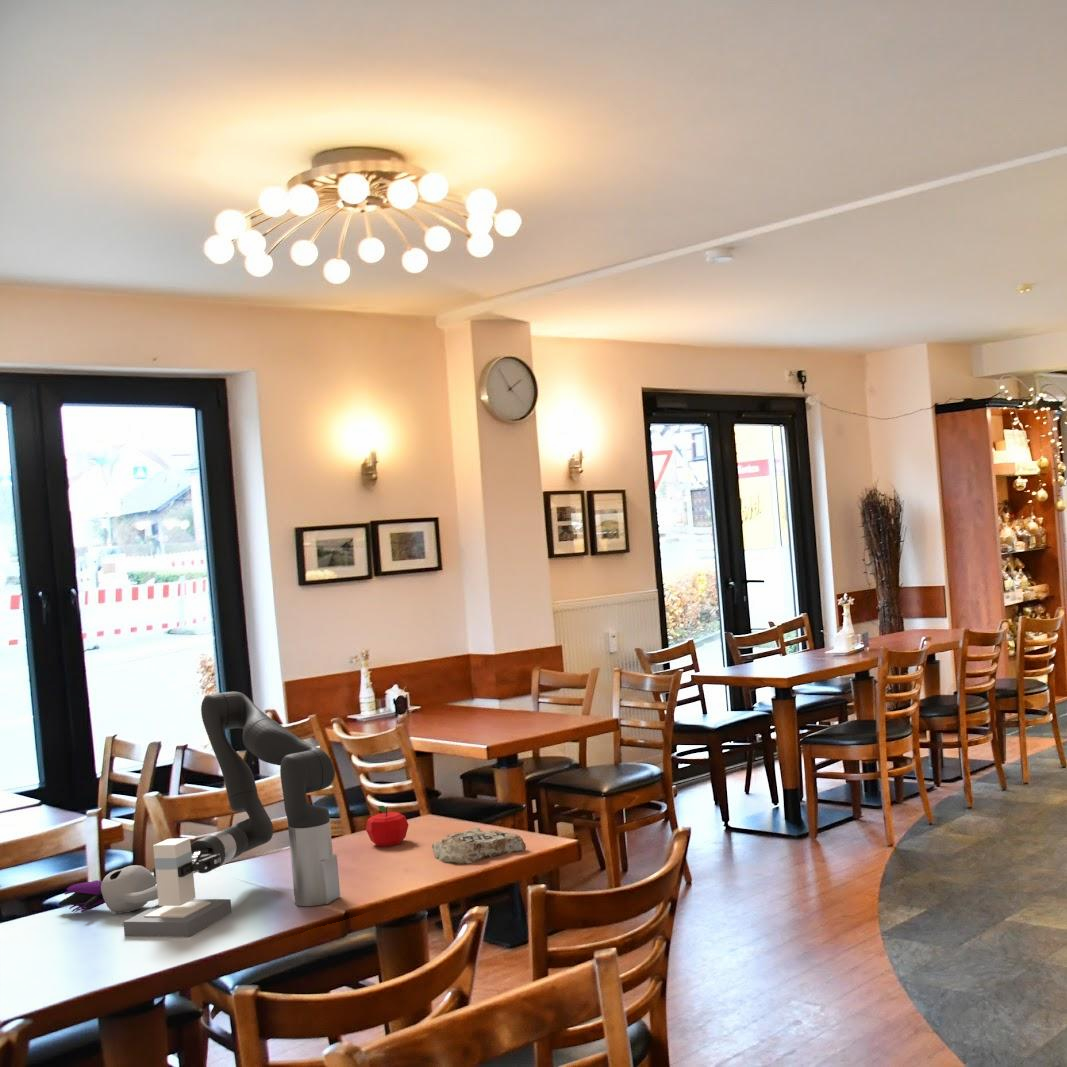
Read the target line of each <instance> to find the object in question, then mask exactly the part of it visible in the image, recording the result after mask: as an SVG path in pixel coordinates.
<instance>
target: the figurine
mask: <svg viewBox="0 0 1067 1067" xmlns="http://www.w3.org/2000/svg"><path fill="white" fill-rule="evenodd" d="M69 894H71V895H69ZM64 895H65V896H66V895H69V896H68V897H66V898H64V899H62V900H61V901H59V902H58V905H59V906H60V907H64V906H70V907H69V908H68V909H69V910H71V909H72V908H73V909H72V910H71V912H73V913H77V912H79V911H80V912H81V913H82V912H87V911H91V910H92V909H96V908H97V907H99V906H102V905H104V904H105V905H106V906H107V908H108V909H109V911H111V912H113V913H118V914H119V913H120V914H124V913H125V914H126V913H129V912H133V911H136V910H139V909H140V908H143V907H144V906H146V905H147V904H148V903H149V902H153V901H155V900H158V892H157V882H156V877H154V874H152V873H151V871H150V870H149V869H147V868H146V867H144V866H143V865H137V864H135V865H133V864H132V865H128V866H125V867H123V868H120V869H115V870H112V871H110V872H109V873H108V874H106V875H105V876H104V878H103V880H98V879H96V880H92V881H85V882H80V883H74V884H71V885H70V886H68V887H67V889H66V891H65V892H64Z"/></svg>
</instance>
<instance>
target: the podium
mask: <svg viewBox="0 0 1067 1067" xmlns="http://www.w3.org/2000/svg"><path fill="white" fill-rule="evenodd" d="M230 914H232V899H230V898H228V899H227V898H222V899H221V898H216V899H215V898H214V899H213V898H194V899H193V900H191V901H189V902H187V903H185V904H183V905H181V906H159V903H158V904H156V905H155V906H152V907H149V908H148V909H146V910H143V911H142V912H140V913H138V914H136V915H134V916H132V917H129V918H128V919H126V920H124V921H123V922H122V923H123V932H124V933H123V935H124V936H125V937H163V938H164V937H165V938H166V937H167V938H169V937H171V938H178V937H179V938H181V937H184V938H190V937H191V936H193V935H195V934H197V933H198V932H200V931H202V930H204V929H205V928H208V927H209V926H211V925H213V924H214V923H216V922H218V921H220V920H222V919H223V918H225V917H227V916H229V915H230Z"/></svg>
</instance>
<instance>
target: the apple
mask: <svg viewBox="0 0 1067 1067" xmlns="http://www.w3.org/2000/svg"><path fill="white" fill-rule="evenodd" d="M388 808H389V806H384V805H378V806H377V809H379V811H380V812H381V813H377V814H375V815H372V816H370V817H369V818H368V819H367V820H366V821H367V822H366V826H365V831H366V833H367V835H368V837H369V840H370V841H371V842H372V843H373V844H375V846H377V847H378V848H379V847H380V848H383V847H385V848H386V847H387V848H388V847H393V846H398V845H399V844H400V843H402V842H403V840H405V838H406V837H407V833H408V829H409V823H408V820H407V818H406V815H404V814H401V813H399V812H397V811H388Z"/></svg>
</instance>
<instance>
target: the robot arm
mask: <svg viewBox="0 0 1067 1067" xmlns="http://www.w3.org/2000/svg"><path fill="white" fill-rule="evenodd" d="M200 712H201V713H200V714H201V719H202V723H203V726H204V729H205V732H206V734H207V737H208V740H209V742H210V745H211V748H212V750H213V753H214V755H215V758H216V760H217V763H218V765H219V768H220V771H221V773H222V777H223V781H224V785H225V790H226V795H227V798H228V799H227V800H228V802H229V807H230V810H231V811H232V812H235V813H243V812H246V814H247V816H248V818H246V819H244V820H241V821H239V822H238V823H235V824H233V825H231V826H230V827H227V828H224V829H222V830H220V831H217V832H213V833H210V834H208V835H205V836H203V837H201V838H199V839H197V840H194V841H193V842H191V843H190V844H191V851H192V861H190V863H186V864H184V865H182V866H180V867H178V877H184V876H186V875H188V874H190V873H193V874H196V873H198V874H208V873H209V872H211V871H213V870H216V869H217V868H219V867H221V866H223V865H225V864H227V863H228V862H230V861H231V860H234V859H235V858H237V857H239V856H240V855H242V854H244V853H245V852H249V851H251V850H253V849H255V848H258V847H261V846H262V845H265V844H267V843H268V842H270V841H271V839H272V838H273V834H274V826H273V823H272V822H273V821H272V820H271V818H270V815H269V814H268V813H267V811H266V809H265V807H264V805H263V803H262V801H261V799H260V797H259V794H258V790H257V785H256V784H257V783H256V780H255V776H254V774H253V772H252V769H251V768H250V765H249V764H248V763H247V762H246V761H245V760H244V758H242V757H241V755H240V754H239V753H238V752H237V751H236V750H235V748H234V747H233V746H232V745H231V743H230V742H229V740H228V738H227V736H226V733H225V730H232V729H242V730H243V731H242V741H243V745H244V747H245V748H246V749H247V750H248V751H249V752H250V753H251V754H252V755H254V756H255V757H256V758H258V759H259V760H261V761H263V762H264V763H266V764H271V765H276V766H280V767H279V773H280V776H279V777H280V783H281V789H282V797H283V803H284V812H285V817H286V818H287V826H288V837H289V838H288V839H289V850H290V862H291V863H290V864H291V874H292V882H293V884H292V885H293V896H294V903H295V905H296V906H300V907H314V906H316V907H317V906H321V905H329V904H330V903H332V902H333V901H335V900H337V899H339V898H340V897H341V887H340V877H339V866H338V856H337V854H336V853H333V842H332V829H331V815H330V810H329V809H328V808H327V807H325V806H320V805H315V804H312V803H309V802H308V800H307V799H308V798H307V794H310V793H314V792H319V791H323V790H325V789H326V788H328V787H329V786H331V785H332V783H334V780H335V777H336V776H335V775H336V770H335V765H334V763H333V760H332V759H331V756H329V755H328V754H327V752H326V751H324V750H323V749H321V748H319V747H317V746H315V745H313V744H311V743H309V742H306V741H305V740H303V739H301V737H298V736H297V735H295V734H294V733H292V732H290V731H289V730H288V729H287V728H286V727H284V726H283V725H282V724H280V723H279V722H278V721H276V720H275V719H273V718H271V717H270V716H268V714H266V713H265V712H264V711H262V710H261V709H260V708H259V707H258V706H257V705H256V704H255V703H254V702H253V701H252V700H251V699H250V698H249V697H248V696H247V695H245V694H244V693H243V692H239V691H225V692H216V693H209V694H207V695H205V696H204V697H203V699H202V702H201V706H200ZM152 871H153V875H154V877H156V871H155V866H154V867H153V869H152Z"/></svg>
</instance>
